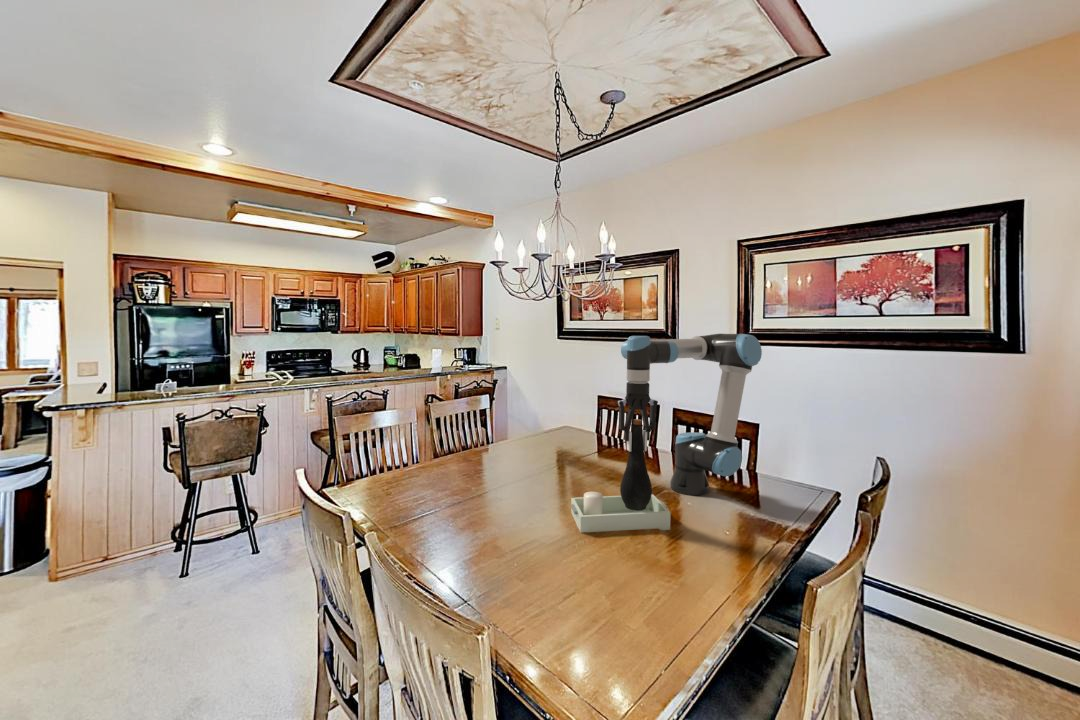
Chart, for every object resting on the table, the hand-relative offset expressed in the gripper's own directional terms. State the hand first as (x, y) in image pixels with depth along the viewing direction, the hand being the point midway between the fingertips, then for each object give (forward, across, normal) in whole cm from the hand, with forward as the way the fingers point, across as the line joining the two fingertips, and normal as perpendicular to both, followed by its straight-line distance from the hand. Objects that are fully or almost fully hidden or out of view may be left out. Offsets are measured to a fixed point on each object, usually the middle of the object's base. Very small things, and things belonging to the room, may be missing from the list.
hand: (636, 450), depth 155 cm
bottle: (+20, 0, 0) cm, 20 cm away
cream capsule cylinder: (+24, +15, 0) cm, 28 cm away
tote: (+25, +6, 0) cm, 26 cm away
